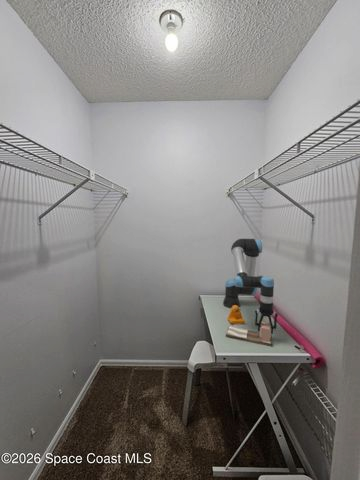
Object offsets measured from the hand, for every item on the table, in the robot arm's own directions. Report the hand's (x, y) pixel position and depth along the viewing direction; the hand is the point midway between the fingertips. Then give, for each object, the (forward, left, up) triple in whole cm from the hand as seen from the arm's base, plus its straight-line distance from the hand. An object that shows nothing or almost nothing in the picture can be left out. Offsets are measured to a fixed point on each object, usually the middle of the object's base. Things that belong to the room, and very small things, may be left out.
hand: (265, 337), depth 130 cm
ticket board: (0, -10, -2) cm, 10 cm away
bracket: (-18, -20, -2) cm, 27 cm away
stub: (0, 0, 0) cm, 0 cm away
